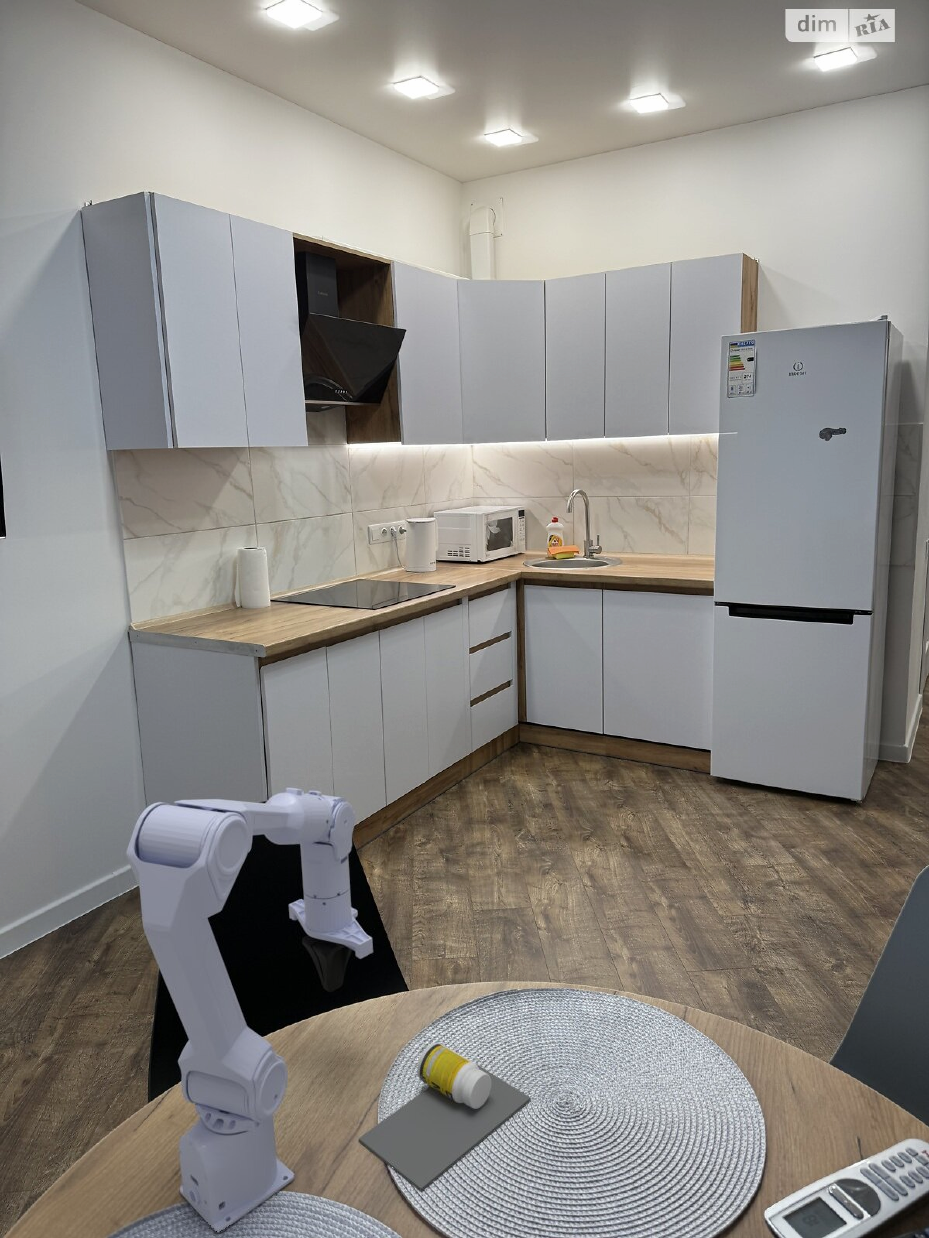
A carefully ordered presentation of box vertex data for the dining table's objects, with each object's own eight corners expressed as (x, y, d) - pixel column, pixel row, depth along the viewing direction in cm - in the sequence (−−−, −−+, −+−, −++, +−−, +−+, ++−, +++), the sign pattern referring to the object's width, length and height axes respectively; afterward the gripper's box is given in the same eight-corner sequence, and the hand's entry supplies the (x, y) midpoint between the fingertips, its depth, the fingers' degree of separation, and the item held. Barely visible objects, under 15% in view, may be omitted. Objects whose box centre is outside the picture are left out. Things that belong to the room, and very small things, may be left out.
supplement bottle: (410, 1078, 107) (462, 1110, 102) (425, 1038, 109) (477, 1068, 103) (432, 1082, 111) (484, 1113, 105) (447, 1044, 112) (499, 1073, 107)
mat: (421, 1191, 94) (421, 1188, 94) (358, 1141, 101) (358, 1138, 101) (530, 1100, 106) (530, 1097, 106) (468, 1061, 114) (468, 1058, 114)
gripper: (389, 894, 108) (394, 995, 111) (317, 859, 118) (323, 952, 121) (343, 917, 103) (350, 1022, 106) (272, 878, 113) (279, 975, 116)
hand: (333, 986), depth 113 cm, fingers closed
